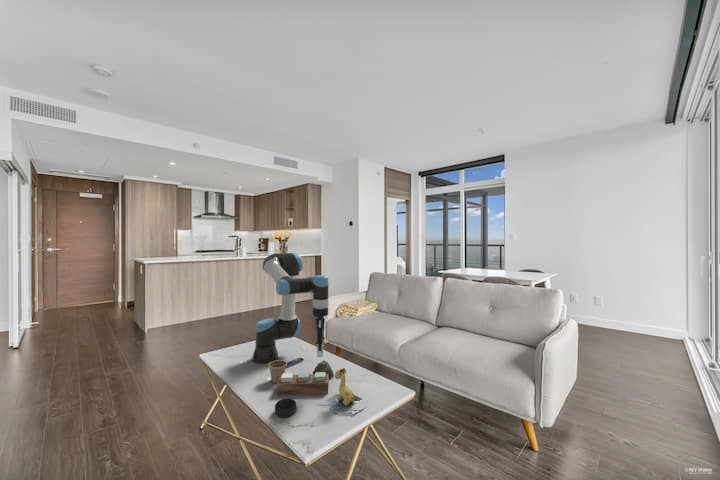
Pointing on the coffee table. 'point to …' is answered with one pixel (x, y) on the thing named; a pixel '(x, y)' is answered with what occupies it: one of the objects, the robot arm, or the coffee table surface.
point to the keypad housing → (303, 386)
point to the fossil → (324, 368)
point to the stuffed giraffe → (342, 396)
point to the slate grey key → (303, 377)
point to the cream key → (287, 377)
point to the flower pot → (277, 369)
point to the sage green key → (320, 376)
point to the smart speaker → (285, 407)
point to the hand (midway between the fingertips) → (320, 354)
